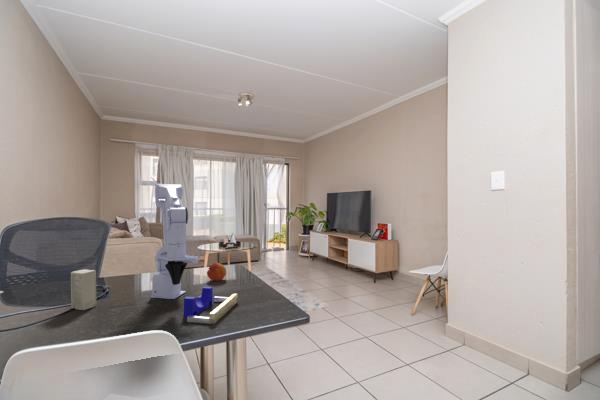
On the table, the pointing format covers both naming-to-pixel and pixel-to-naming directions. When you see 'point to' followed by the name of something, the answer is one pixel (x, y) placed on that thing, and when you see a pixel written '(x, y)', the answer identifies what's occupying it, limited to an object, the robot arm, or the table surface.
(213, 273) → the fruit
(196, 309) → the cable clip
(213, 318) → the frame
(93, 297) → the skincare box
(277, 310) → the table surface
